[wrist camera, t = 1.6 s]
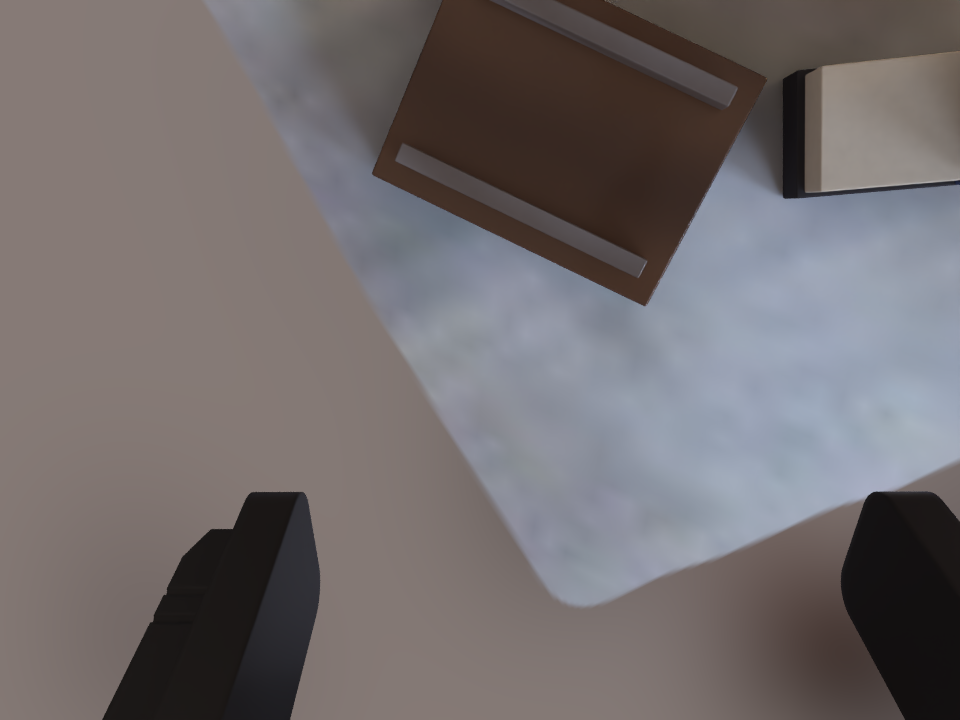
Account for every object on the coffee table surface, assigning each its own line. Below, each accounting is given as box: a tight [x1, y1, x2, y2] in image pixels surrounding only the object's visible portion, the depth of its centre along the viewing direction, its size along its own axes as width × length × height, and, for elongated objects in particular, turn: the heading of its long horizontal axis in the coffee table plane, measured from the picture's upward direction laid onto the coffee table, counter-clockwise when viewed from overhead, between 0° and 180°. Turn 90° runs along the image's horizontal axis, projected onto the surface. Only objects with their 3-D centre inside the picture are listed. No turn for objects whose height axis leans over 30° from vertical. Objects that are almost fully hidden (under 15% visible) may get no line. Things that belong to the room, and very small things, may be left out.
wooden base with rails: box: [372, 0, 767, 306], centre depth 30 cm, size 10×13×4 cm
